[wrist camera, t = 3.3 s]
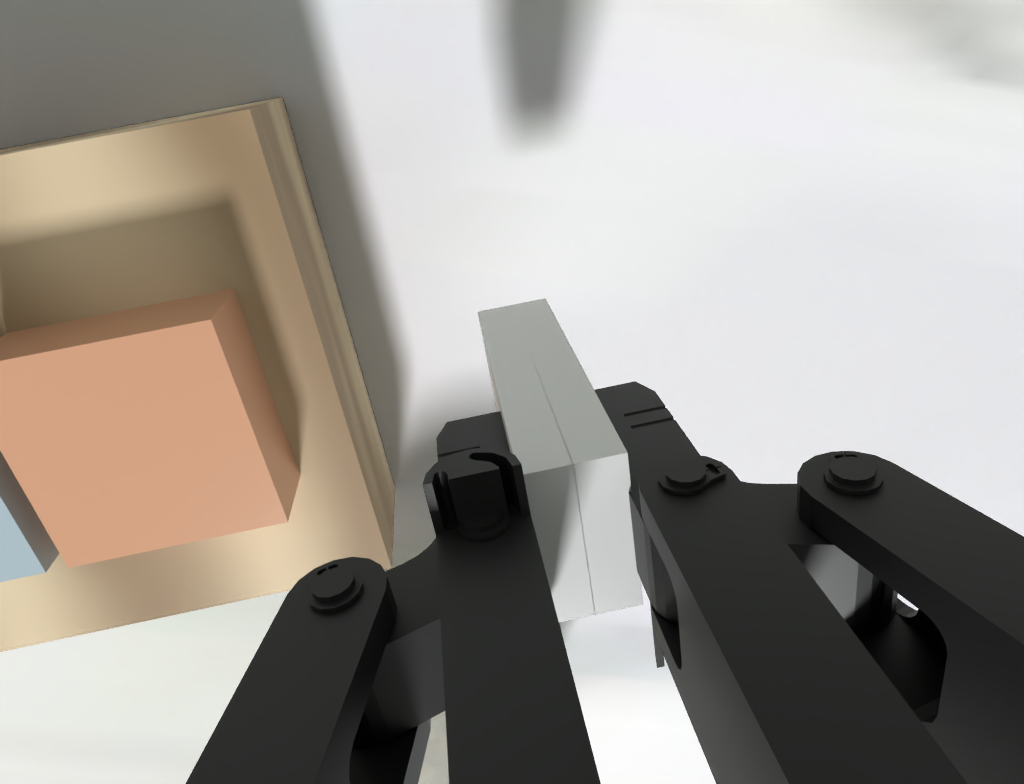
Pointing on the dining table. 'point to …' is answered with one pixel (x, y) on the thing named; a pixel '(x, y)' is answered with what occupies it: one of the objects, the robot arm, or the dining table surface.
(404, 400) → the dining table surface
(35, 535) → the tile
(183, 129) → the tan square panel
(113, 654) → the dining table surface
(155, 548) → the tile
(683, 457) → the robot arm
